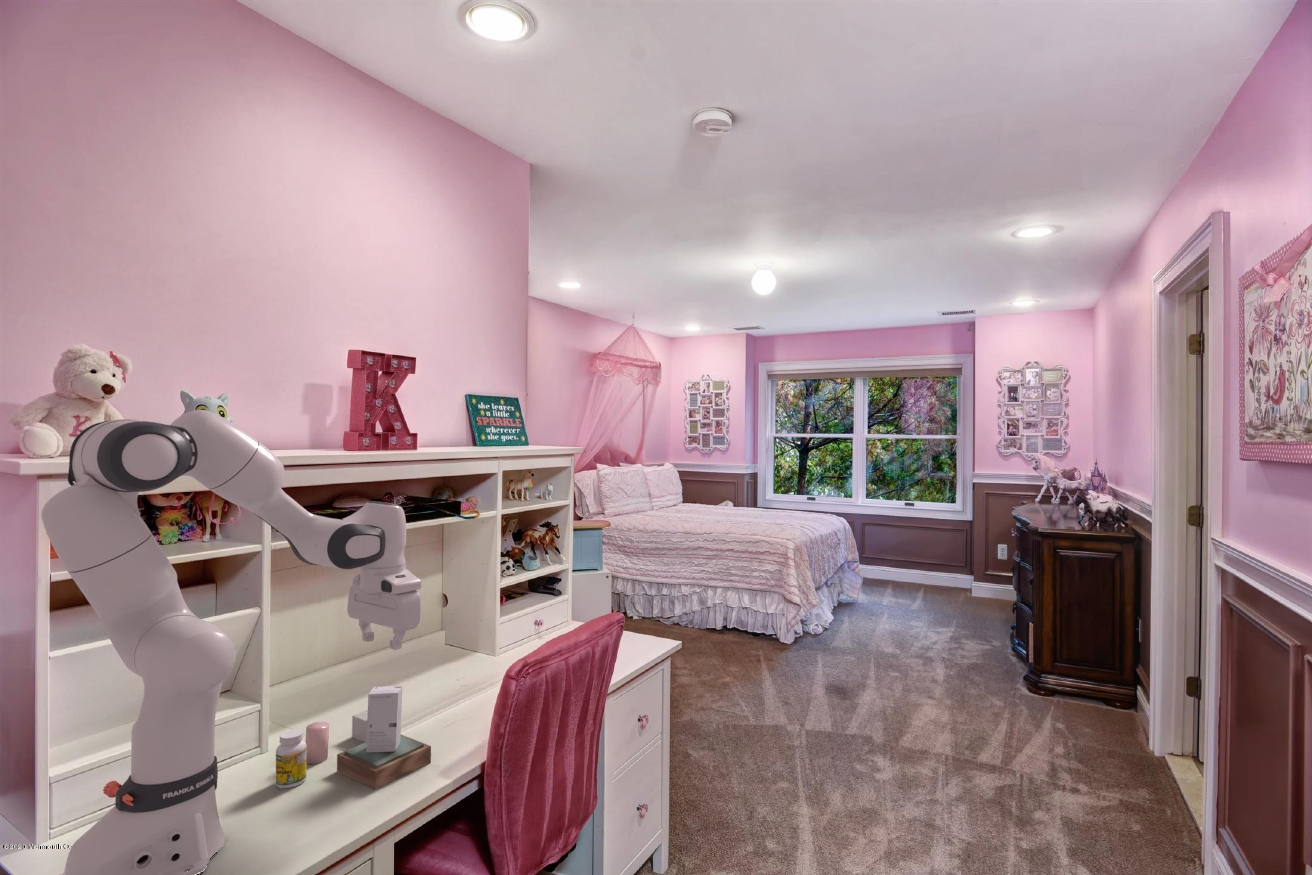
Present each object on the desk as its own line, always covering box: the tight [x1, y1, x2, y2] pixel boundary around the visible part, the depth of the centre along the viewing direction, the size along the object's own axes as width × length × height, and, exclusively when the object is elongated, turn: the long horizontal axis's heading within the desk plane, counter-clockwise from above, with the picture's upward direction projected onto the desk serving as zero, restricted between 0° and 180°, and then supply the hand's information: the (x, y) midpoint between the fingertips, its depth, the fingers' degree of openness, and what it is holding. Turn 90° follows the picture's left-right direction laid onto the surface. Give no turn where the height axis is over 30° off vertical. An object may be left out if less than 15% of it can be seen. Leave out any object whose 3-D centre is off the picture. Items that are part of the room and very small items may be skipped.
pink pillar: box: [304, 721, 330, 765], centre depth 140 cm, size 4×4×7 cm
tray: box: [336, 734, 432, 791], centre depth 137 cm, size 13×13×4 cm
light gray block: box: [351, 709, 368, 743], centre depth 151 cm, size 5×5×5 cm
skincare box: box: [366, 685, 403, 753], centre depth 137 cm, size 6×4×12 cm
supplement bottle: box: [275, 729, 308, 789], centre depth 131 cm, size 5×5×10 cm
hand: (381, 644), depth 137 cm, fingers open, 8 cm apart
